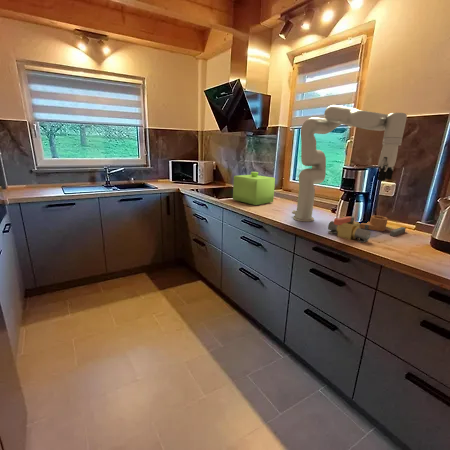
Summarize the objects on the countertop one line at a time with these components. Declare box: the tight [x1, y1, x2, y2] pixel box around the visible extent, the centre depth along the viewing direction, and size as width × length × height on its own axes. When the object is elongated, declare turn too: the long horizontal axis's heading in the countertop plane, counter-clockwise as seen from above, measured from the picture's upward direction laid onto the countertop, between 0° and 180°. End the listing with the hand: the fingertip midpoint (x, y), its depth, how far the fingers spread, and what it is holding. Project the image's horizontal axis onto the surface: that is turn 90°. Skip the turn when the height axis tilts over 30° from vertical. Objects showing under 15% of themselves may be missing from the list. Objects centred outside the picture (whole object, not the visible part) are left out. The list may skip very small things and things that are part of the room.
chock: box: [389, 226, 407, 237], centre depth 148 cm, size 2×14×2 cm, turn 127°
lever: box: [333, 215, 355, 225], centre depth 134 cm, size 14×4×3 cm, turn 127°
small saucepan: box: [359, 215, 389, 232], centre depth 158 cm, size 18×8×7 cm, turn 65°
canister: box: [232, 171, 276, 206], centre depth 219 cm, size 25×21×23 cm
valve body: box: [327, 220, 372, 244], centre depth 139 cm, size 20×7×8 cm, turn 37°
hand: (384, 179), depth 130 cm, fingers open, 9 cm apart
